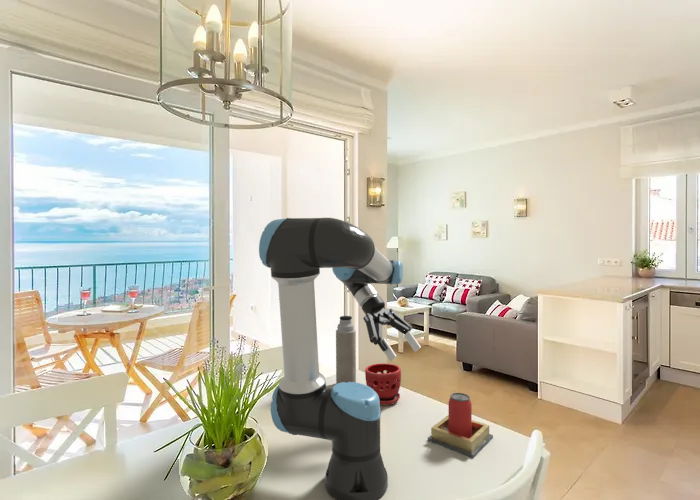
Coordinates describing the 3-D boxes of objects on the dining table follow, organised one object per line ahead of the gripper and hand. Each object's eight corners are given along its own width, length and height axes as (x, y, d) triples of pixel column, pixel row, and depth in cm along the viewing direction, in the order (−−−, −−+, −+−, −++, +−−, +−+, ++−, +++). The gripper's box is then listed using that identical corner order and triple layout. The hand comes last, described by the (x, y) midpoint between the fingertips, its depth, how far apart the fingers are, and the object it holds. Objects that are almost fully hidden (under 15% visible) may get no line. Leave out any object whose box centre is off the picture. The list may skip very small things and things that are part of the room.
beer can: (446, 438, 114) (446, 398, 114) (451, 429, 120) (451, 390, 120) (469, 444, 111) (469, 402, 111) (473, 433, 117) (473, 394, 116)
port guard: (473, 457, 106) (473, 444, 105) (427, 440, 115) (427, 427, 115) (492, 437, 116) (493, 425, 116) (449, 423, 125) (449, 411, 125)
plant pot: (401, 394, 149) (401, 362, 149) (400, 408, 136) (400, 374, 136) (367, 391, 151) (367, 361, 151) (363, 406, 138) (362, 372, 138)
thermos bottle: (332, 384, 159) (331, 316, 158) (346, 380, 164) (346, 313, 163) (345, 390, 153) (344, 319, 152) (359, 385, 158) (359, 316, 157)
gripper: (386, 304, 144) (420, 352, 135) (339, 313, 126) (374, 369, 116) (398, 291, 141) (434, 339, 131) (351, 298, 122) (389, 355, 112)
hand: (406, 354), depth 123 cm, fingers open, 13 cm apart
